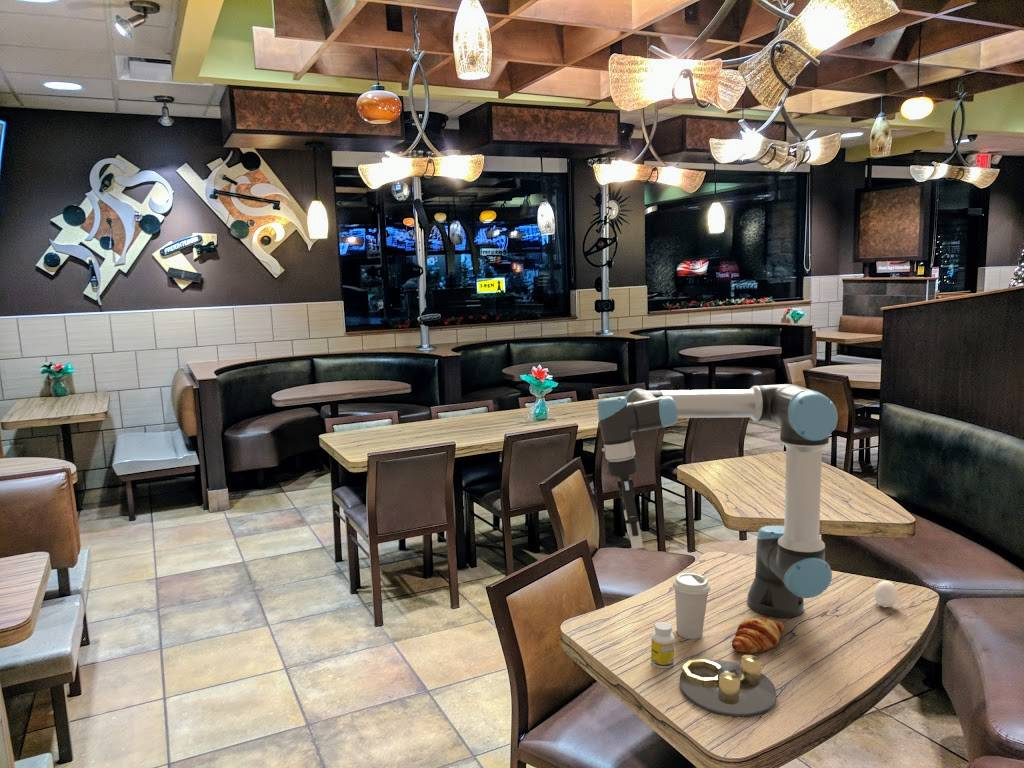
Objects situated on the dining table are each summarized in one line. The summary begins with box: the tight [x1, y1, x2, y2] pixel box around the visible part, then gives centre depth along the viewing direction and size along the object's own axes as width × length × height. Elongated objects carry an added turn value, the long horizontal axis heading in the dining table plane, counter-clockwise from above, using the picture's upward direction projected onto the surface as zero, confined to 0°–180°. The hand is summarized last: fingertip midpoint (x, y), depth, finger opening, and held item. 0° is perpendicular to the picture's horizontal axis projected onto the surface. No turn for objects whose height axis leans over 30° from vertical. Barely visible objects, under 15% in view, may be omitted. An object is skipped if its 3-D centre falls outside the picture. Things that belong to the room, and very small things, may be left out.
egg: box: [873, 580, 899, 608], centre depth 212 cm, size 6×6×8 cm
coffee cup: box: [672, 572, 711, 640], centre depth 195 cm, size 10×10×15 cm
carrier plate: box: [679, 654, 777, 718], centre depth 169 cm, size 21×21×6 cm
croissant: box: [731, 616, 784, 654], centre depth 191 cm, size 21×10×8 cm, turn 130°
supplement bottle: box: [650, 621, 675, 669], centre depth 180 cm, size 5×5×10 cm
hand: (635, 540), depth 189 cm, fingers open, 13 cm apart
